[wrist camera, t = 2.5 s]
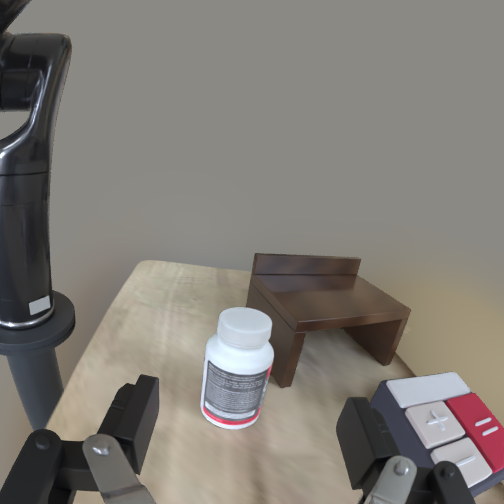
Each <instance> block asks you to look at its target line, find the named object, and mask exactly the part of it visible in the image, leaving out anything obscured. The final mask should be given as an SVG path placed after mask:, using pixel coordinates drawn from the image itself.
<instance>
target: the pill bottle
mask: <svg viewBox="0 0 504 504" xmlns="http://www.w3.org/2000/svg"><path fill="white" fill-rule="evenodd" d="M271 329H272V321H271V319H270V317H269V316H268V315H266V314H265V313H263V312H261V311H258V310H256V309H252V308H246V307H232V308H228V309H226V310H224V311H222V312H221V314H220V316H219V322H218V326H217V333H215V334H213V335H212V336H211V337H210V338H209V340H208V342H207V345H206V350H205V358H204V371H203V381H202V391H201V410H202V413H203V415H204V416H205V417H206V419H207V420H209V421H210V422H211V423H213V424H215V425H217V426H219V427H222V428H226V429H241V428H245V427H248V426H250V425H251V424H253V423H254V422H255V421H256V420H257V418H258V417H259V414H260V410H261V407H262V403H263V399H264V395H265V391H266V387H267V383H268V379H269V375H270V371H271V368H272V363H273V359H274V351H273V348H272V346H271V344H270V343H269V342H268V340H269V338H270V336H271Z"/></svg>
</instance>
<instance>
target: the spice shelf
mask: <svg viewBox="0 0 504 504" xmlns="http://www.w3.org/2000/svg"><path fill="white" fill-rule="evenodd" d="M360 262H361V259H360V258H358V257H334V256H310V255H309V256H308V255H286V254H261V253H255V256H254V262H253V268H252V274H251V280H250V286H249V292H248V298H247V304H246V308H252V309H256V310H258V311H261V312H263V313H265V314H266V315H268V316H269V317H270V319H271V321H272V329H271V336H270V338H269V340H268V342H269V343H270V344H271V346H272V348H273V351H274V359H273V363H272V368H271V371H270V373H271V374H272V376H273V377H274V379H275V380H276V382H277V383H278V385H279V386H280V388H284V387H290V386H291V384H292V380H293V377H294V374H295V370H296V367H297V363H298V360H299V356H300V353H301V349H302V346H303V342H304V338H305V335H306V331H315V330H324V329H333V328H342V329H343V330H344V331H345V332H346V333H348V334H349V335H350V336H351V337H352V338H353V339H354V340H355V341H357V342H358V343H359V344H360V345H361V346H362V347H363V348H364V349H366V350H367V351H368V352H369V353H370V354H371V355H372V356H373V357H375V358H376V359H377V360H378V361H379V362H380V363H381V364H382V365H384V366H385V365H389V364H390V363H391V361H392V358H393V356H394V354H395V351H396V349H397V346H398V344H399V341H400V339H401V336H402V333H403V331H404V328H405V326H406V323H407V320H408V317H409V315H410V312H411V309H410V308H408V307H407V306H405V305H403V304H402V303H400V302H399V301H397V300H396V299H394V298H392V297H391V296H389V295H388V294H386V293H384V292H383V291H382V290H380V289H378V288H377V287H375V286H374V285H372V284H370V283H369V282H367V281H366V280H364V279H363V278H361V277H359V276H358V275H357V273H358V269H359V266H360Z"/></svg>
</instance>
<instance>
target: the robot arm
mask: <svg viewBox="0 0 504 504" xmlns="http://www.w3.org/2000/svg"><path fill="white" fill-rule="evenodd" d="M30 1H31V0H0V112H14V111H15V112H16V111H31V112H30V115H29V117H28V119H27V121H26V122H25V123H24V125H22V126H21V127H20V128H19V129H18V130H16V131H15V132H14V133H12V134H11V135H9V136H7V137H6V138H4V139H2V140H0V328H2V329H5V330H11V331H23V330H30V329H33V328H36V327H39V326H41V325H43V324H45V323H46V322H48V321H49V320H50V319H51V318H52V317H53V315H54V313H55V304H54V299H53V292H52V281H51V266H50V246H49V199H50V198H49V196H50V177H51V171H50V170H51V163H52V150H53V141H54V133H55V126H56V120H57V114H58V109H59V105H60V101H61V96H62V93H63V89H64V85H65V81H66V77H67V73H68V69H69V65H70V59H71V52H72V45H71V40H70V38H69V36H68V35H66V34H63V33H21V34H12V33H10V32H8V31H7V28H8V27H9V25H10V24H11V23H12V22H13V21H14V20H15V19H16V17H17V16H18V15H19V14H20V13H21V12H22V11H23V9H24V8H25V7H26V6H27V5H28V4H29V2H30ZM158 412H159V379H158V378H157V377H152V376H147V375H143V374H141V375H140V376H139V378H138V380H137V382H136V385H133V384H129V383H126V384H125V385H124V386H123V387H121V388H120V389H119V390H118V392H117V394H116V396H115V398H114V400H113V402H112V404H111V407H110V408H109V410H108V412H107V414H106V416H105V418H104V420H103V422H102V424H101V426H100V428H99V430H98V432H97V434H95V435H92V436H90V437H88V438H87V439H86V440H85V441H64V440H61V439H60V437H59V436H58V435H57V434H56V433H55V432H53V431H51V430H47V429H40V430H36V431H34V432H33V433H31V434H30V435H29V437H28V438H27V440H26V442H25V444H24V446H23V448H22V450H21V451H20V453H19V455H18V457H17V459H16V461H15V463H14V465H13V467H12V469H11V471H10V473H9V475H8V477H7V479H6V481H5V483H4V485H3V487H2V489H1V491H0V504H73V500H74V497H75V494H76V491H77V490H81V491H99V492H100V494H101V496H102V498H103V500H104V502H105V504H156V502H155V501H154V499H153V498H152V496H151V494H150V493H149V491H148V490H147V488H146V487H145V486H144V485H142V484H141V483H140V481H139V480H138V478H137V476H136V475H135V474H138V475H140V472H141V469H142V466H143V462H144V459H145V455H146V452H147V449H148V446H149V442H150V439H151V436H152V433H153V429H154V426H155V423H156V420H157V416H158ZM336 433H337V437H338V440H339V444H340V447H341V451H342V454H343V458H344V461H345V465H346V468H347V472H348V475H349V479H350V482H351V486H352V490H356V489H362V490H363V494H362V495H361V497H360V498H359V500H358V502H357V504H436V503H437V504H476V503H475V501H474V499H473V497H472V494H471V492H470V490H469V488H468V486H467V484H466V482H465V479H464V477H463V475H462V473H461V471H460V469H459V467H458V466H457V465H456V464H454V463H453V462H450V461H445V460H444V461H440V462H438V463H437V464H436V465H435V466H434V467H433V468H425V467H416V465H415V463H414V462H413V461H412V460H411V459H409V458H407V457H404V456H401V454H400V451H399V449H398V447H397V445H396V443H395V440H394V438H393V436H392V434H391V432H390V430H389V427H388V426H387V423H386V421H385V419H384V417H383V415H382V414H381V413H380V412H379V411H378V410H377V409H376V408H371V406H370V404H369V402H368V400H367V398H365V397H350V398H348V399H347V401H346V403H345V406H344V408H343V410H342V412H341V415H340V417H339V419H338V421H337V426H336Z"/></svg>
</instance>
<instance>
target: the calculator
mask: <svg viewBox="0 0 504 504" xmlns="http://www.w3.org/2000/svg"><path fill="white" fill-rule="evenodd" d="M369 404H370V406H371V408H376V409H377V410H378V411H379V412H380V413H381V414H382V415H383V417H384V419H385V421H386V423H387V426H388V427H389V430H390V432H391V434H392V436H393V438H394V440H395V443H396V445H397V447H398V449H399V451H400V454H401V456H404V457H407V458H409V459H411V460H412V461H413V462H414V463H415V465H416V467H425V468H433V467H434V466H435V465H436V464H437V463H438V462H440V461H444V460H445V461H450V462H453V463H454V464H456V465H457V466H458V467H459V469H460V471H461V473H462V475H463V477H464V479H465V482H466V484H467V486H468V488H469V490H470V492H471V494H472V497H473V498H474V497H475V496H477V495H479V494H481V493H482V492H484V491H486V490H487V489H489V488H491V487H492V486H494V485H495V484H497V483H499V482H500V481H502V480H503V479H504V428H503V426H502V425H501V424H500V423H499V421H498V420H497V419H496V418H495V416H494V415H493V414H492V413H491V411H490V410H489V409H488V408H487V407H486V405H485V404H484V403H483V402H482V401H481V399H480V398H479V397H478V396H477V395H476V394H475V393H472V392H471V390H470V389H469V387H468V386H467V385H466V384H465V383H464V382H463V380H462V379H461V378H460V377H459V376H458V375H457V373H455V372H447V373H441V374H434V375H427V376H419V377H411V378H403V379H394V380H384V381H381V382H380V384H379V386H378V388H377V390H376V392H375V394H374V396H373V398H372V400H371V402H370V403H369ZM436 504H437V503H436Z"/></svg>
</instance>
